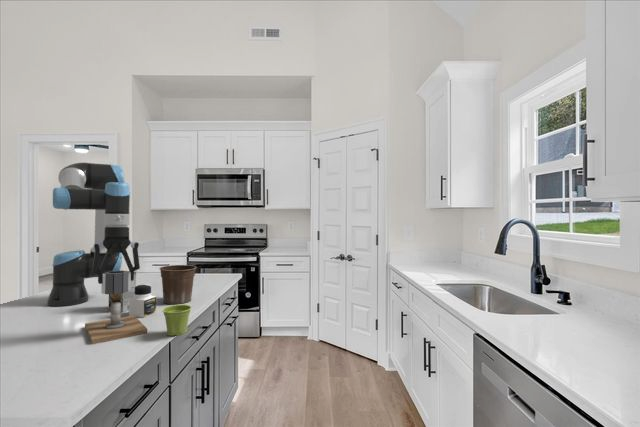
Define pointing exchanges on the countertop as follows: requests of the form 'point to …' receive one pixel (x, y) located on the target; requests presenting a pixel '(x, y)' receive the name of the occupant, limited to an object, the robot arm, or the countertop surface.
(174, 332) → the plant pot
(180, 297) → the plant pot
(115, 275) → the knob
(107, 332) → the board
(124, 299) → the coffee box
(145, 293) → the medicine bottle
